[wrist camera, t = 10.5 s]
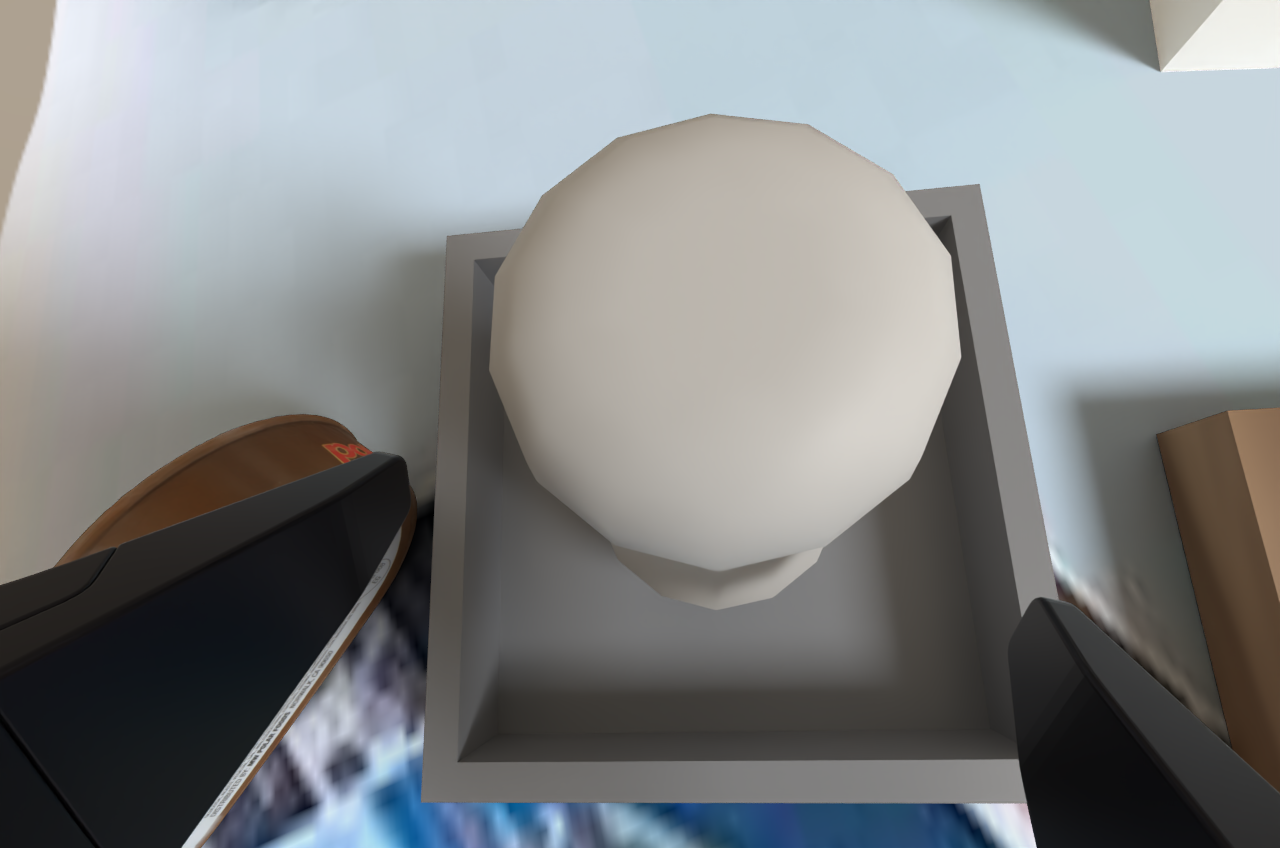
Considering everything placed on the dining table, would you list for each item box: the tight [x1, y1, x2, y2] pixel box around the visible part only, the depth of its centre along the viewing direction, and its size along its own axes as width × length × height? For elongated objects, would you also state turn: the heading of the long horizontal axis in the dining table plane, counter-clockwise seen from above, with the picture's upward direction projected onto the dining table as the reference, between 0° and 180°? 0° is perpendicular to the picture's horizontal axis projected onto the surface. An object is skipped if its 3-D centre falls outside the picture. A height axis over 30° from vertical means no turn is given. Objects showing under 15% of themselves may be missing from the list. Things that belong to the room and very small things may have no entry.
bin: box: [421, 184, 1059, 803], centre depth 17 cm, size 14×14×4 cm
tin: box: [53, 414, 417, 848], centre depth 15 cm, size 15×3×8 cm, turn 146°
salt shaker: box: [489, 114, 961, 610], centre depth 11 cm, size 6×6×13 cm
